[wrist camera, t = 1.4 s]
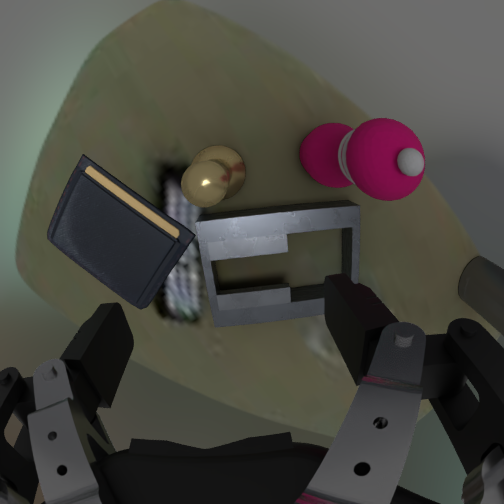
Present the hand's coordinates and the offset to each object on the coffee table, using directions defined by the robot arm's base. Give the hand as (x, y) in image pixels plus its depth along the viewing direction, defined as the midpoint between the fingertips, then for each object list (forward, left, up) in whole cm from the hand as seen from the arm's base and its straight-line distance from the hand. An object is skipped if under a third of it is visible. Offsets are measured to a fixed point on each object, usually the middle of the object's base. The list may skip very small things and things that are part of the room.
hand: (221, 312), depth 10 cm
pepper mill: (-12, -5, -25) cm, 28 cm away
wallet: (+17, +2, -26) cm, 31 cm away
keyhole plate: (-5, +8, -25) cm, 27 cm away
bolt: (+1, -4, -25) cm, 25 cm away
